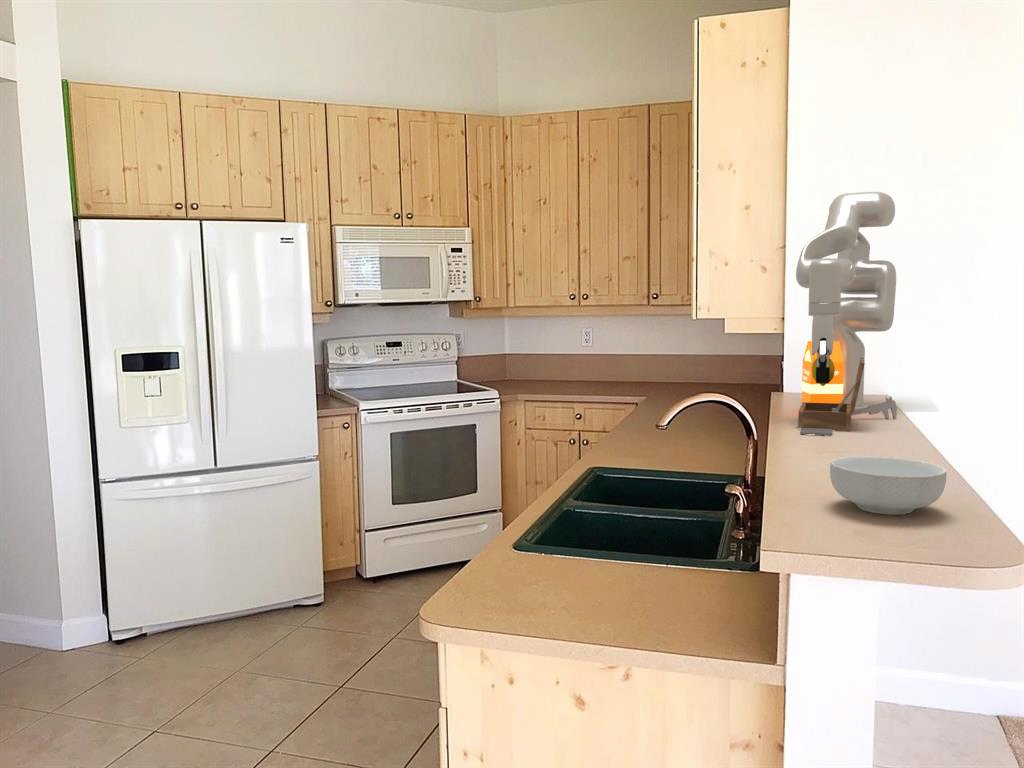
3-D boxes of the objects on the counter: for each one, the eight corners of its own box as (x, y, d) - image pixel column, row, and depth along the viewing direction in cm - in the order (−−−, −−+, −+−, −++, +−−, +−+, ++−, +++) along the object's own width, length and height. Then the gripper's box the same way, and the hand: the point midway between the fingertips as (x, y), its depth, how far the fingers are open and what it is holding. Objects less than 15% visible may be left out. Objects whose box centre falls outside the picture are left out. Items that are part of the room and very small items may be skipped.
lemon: (807, 386, 223) (808, 355, 222) (816, 384, 227) (817, 353, 226) (828, 388, 219) (829, 356, 218) (838, 385, 223) (838, 354, 222)
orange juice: (842, 415, 239) (844, 341, 237) (809, 415, 239) (811, 342, 237) (832, 411, 247) (834, 340, 245) (800, 411, 247) (802, 340, 245)
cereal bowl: (959, 525, 128) (962, 477, 128) (839, 520, 131) (841, 474, 131) (926, 498, 145) (928, 455, 144) (820, 494, 148) (821, 453, 147)
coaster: (801, 430, 215) (801, 427, 215) (832, 431, 213) (832, 429, 213) (800, 434, 209) (800, 432, 209) (831, 436, 206) (831, 433, 206)
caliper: (894, 419, 233) (895, 396, 232) (896, 420, 231) (897, 396, 231) (816, 420, 234) (816, 396, 233) (817, 420, 232) (818, 396, 232)
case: (802, 418, 234) (803, 356, 232) (861, 421, 228) (863, 357, 227) (798, 429, 217) (799, 361, 215) (862, 432, 211) (864, 363, 210)
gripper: (810, 307, 230) (808, 376, 232) (806, 312, 214) (805, 385, 216) (840, 307, 227) (839, 377, 230) (839, 311, 211) (838, 386, 214)
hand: (822, 380), depth 223 cm, fingers closed on lemon, 5 cm apart
